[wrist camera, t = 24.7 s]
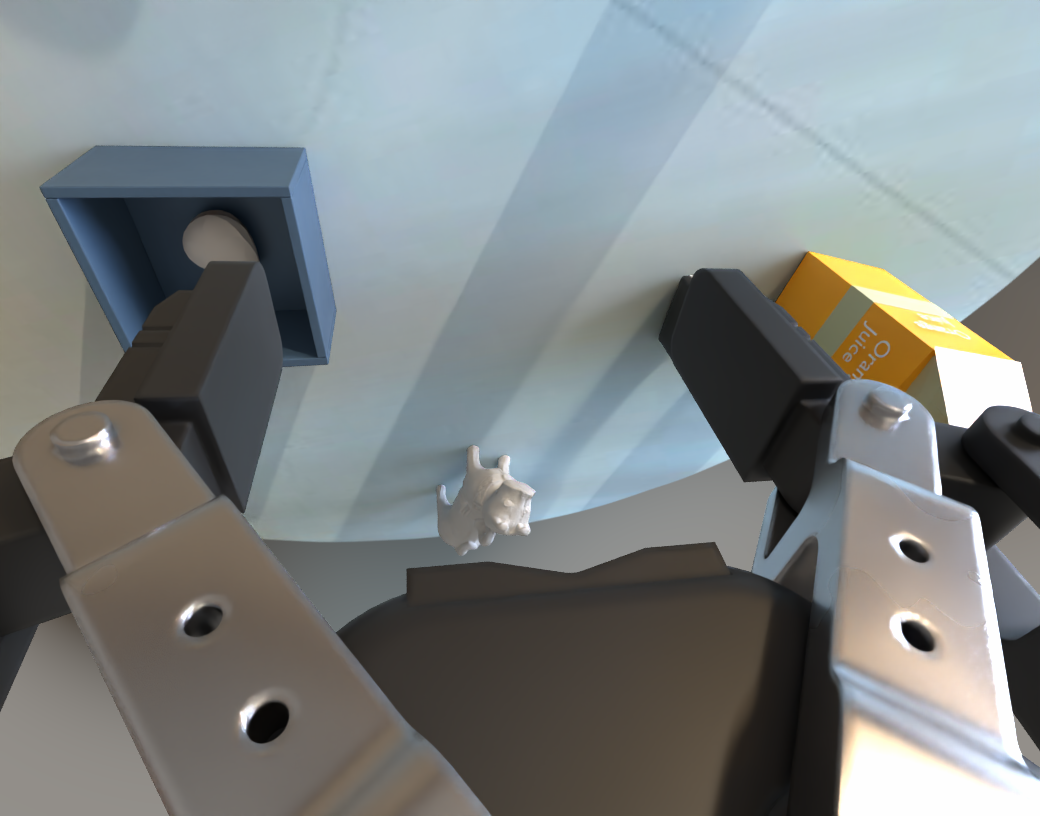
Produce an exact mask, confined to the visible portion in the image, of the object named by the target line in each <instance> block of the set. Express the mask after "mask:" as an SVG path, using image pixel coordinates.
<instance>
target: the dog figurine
mask: <svg viewBox="0 0 1040 816" xmlns="http://www.w3.org/2000/svg"><path fill="white" fill-rule="evenodd" d="M509 464H510V457H509V456H507V455H504V456H501V457H500V458H499V459H498V466H497V468H491V469H485V468H484V467H482V466H481V464H480V461H479V447H478V446H475V445H472V446H470V447H469V448H468V449H467V467H466V476H465V478H464V480H463V487H462V488H461V489H460V490H459V493H458V495H457V497H456V499H455V501H454V502H453V505H451V504H449V502H448V501H447V499H446V495H445V494H446V487H445V486H444V485H438V486H437V488H436V493H437V510H438V532H439V535H440V537H441V538H442V539H443V540H444V541H445V542H446V543H447V544H449V545H451V546H453V547H454V548H455V550H456V552H457V553H458V554H459V555H460V556H462V555H464V554H466V552H467V551H468V550H469V549H477V547H478V546H479V545H482V546H488V545H490V544H491V543H492V541H493V539H494V537H495V533H498V534H503V535H521V536H527V535H528V534H529V533H530V528H529V525H528V520H529V517H530V512H531V498H532V497H533V496H534V494H535V490H534V489H532V488H531V487H529V486H528V485H527V484H525V483H521V482H518V481H516V480H515V479H514V478H513V477H512V476H510V475H509Z"/></svg>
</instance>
